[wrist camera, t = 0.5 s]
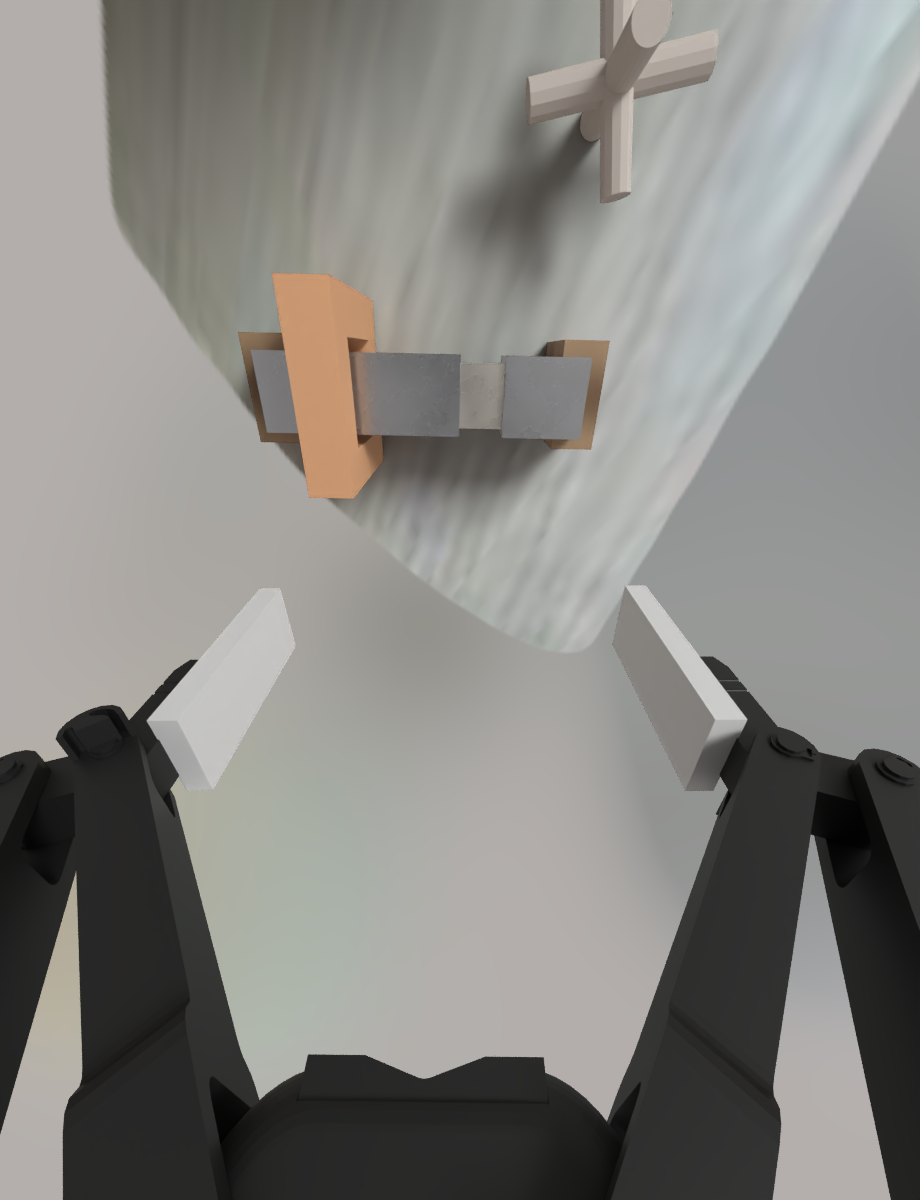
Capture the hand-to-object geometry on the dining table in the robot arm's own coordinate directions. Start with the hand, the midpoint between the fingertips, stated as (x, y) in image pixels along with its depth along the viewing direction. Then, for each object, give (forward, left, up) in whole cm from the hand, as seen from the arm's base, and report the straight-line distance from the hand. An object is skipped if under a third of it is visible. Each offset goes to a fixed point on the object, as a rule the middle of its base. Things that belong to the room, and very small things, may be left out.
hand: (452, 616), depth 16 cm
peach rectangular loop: (-6, -9, -26) cm, 28 cm away
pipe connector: (-22, +8, -27) cm, 36 cm away
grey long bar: (-6, -3, -22) cm, 23 cm away
